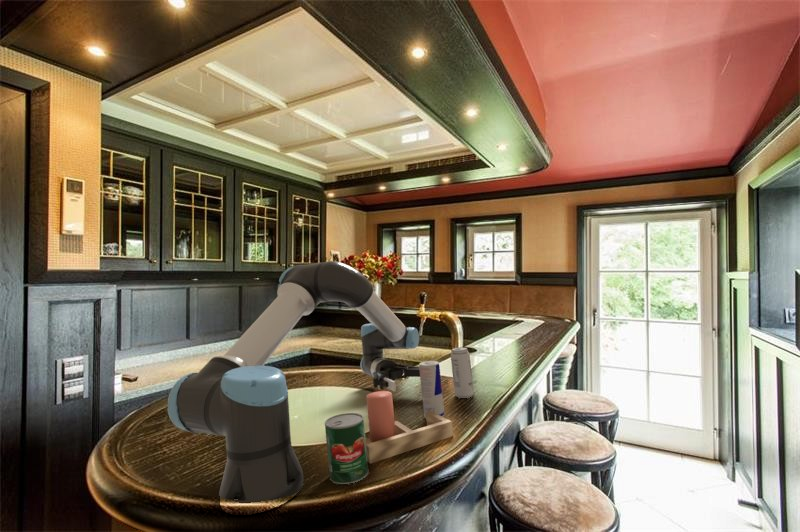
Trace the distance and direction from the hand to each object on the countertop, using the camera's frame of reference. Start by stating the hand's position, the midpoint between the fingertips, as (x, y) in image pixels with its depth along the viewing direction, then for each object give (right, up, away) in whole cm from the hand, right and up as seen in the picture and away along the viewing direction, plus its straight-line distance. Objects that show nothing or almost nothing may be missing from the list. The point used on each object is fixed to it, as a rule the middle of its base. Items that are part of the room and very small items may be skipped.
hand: (414, 381), depth 111 cm
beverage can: (+5, -7, -9) cm, 13 cm away
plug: (-8, -8, -25) cm, 27 cm away
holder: (-4, -7, -22) cm, 24 cm away
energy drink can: (+16, -7, +7) cm, 19 cm away
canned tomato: (-15, -8, -36) cm, 40 cm away
